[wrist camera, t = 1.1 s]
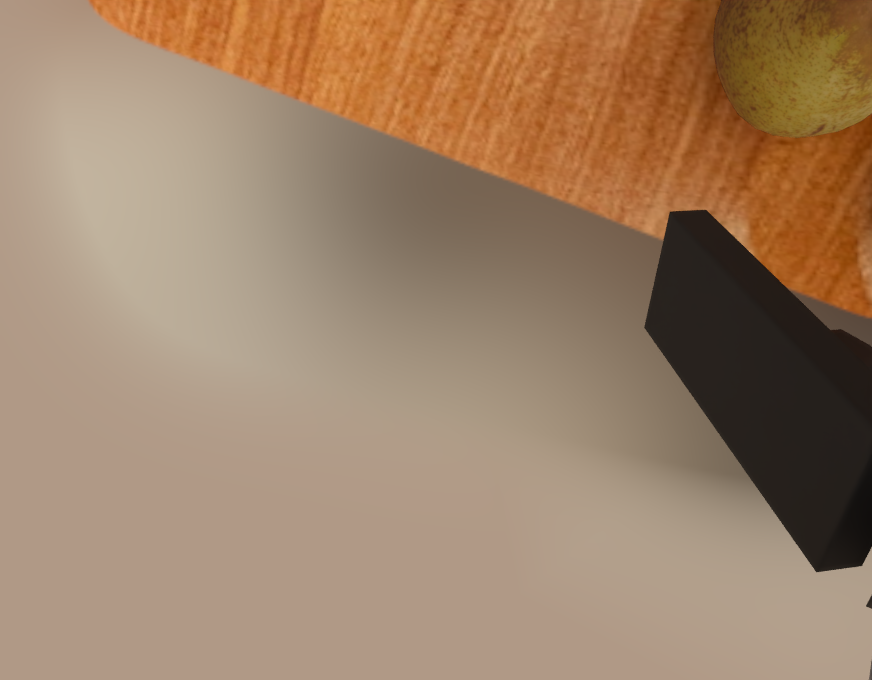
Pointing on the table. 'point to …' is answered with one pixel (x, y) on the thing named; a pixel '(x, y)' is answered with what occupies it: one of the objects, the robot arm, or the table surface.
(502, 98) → the table surface
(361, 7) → the table surface
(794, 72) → the fruit
